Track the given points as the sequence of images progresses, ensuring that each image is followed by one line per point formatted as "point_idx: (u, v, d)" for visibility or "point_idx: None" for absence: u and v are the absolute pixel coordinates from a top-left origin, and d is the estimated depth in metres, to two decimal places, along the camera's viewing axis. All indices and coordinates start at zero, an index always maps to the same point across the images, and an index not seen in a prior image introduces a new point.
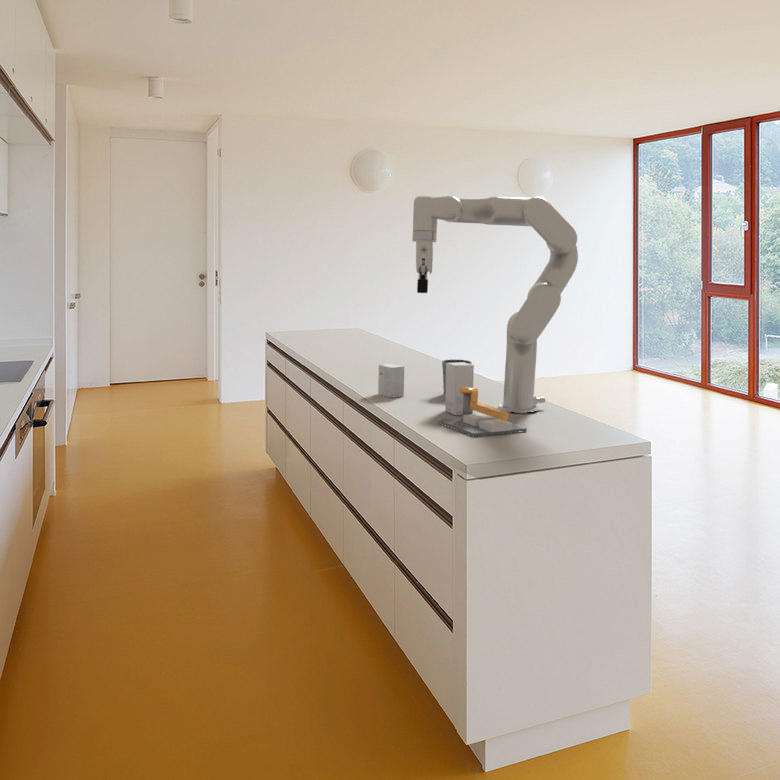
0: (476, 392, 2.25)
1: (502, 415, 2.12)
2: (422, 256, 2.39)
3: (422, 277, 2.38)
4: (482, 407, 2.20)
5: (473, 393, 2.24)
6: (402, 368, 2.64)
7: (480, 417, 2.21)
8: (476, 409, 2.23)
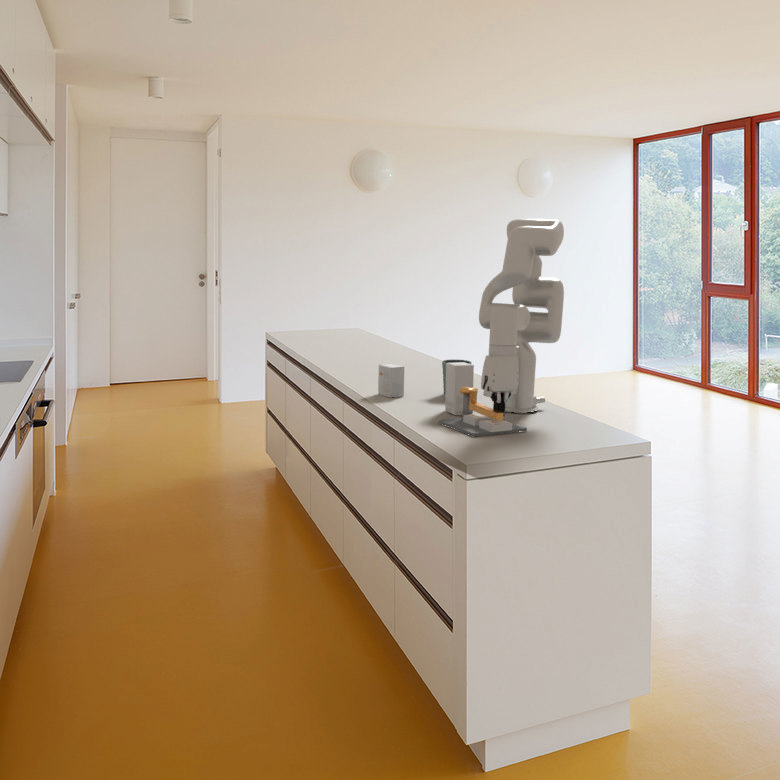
0: (475, 392, 2.24)
1: (496, 416, 2.11)
2: None
3: None
4: (479, 407, 2.20)
5: (472, 393, 2.24)
6: (402, 368, 2.64)
7: (480, 417, 2.21)
8: (474, 409, 2.22)
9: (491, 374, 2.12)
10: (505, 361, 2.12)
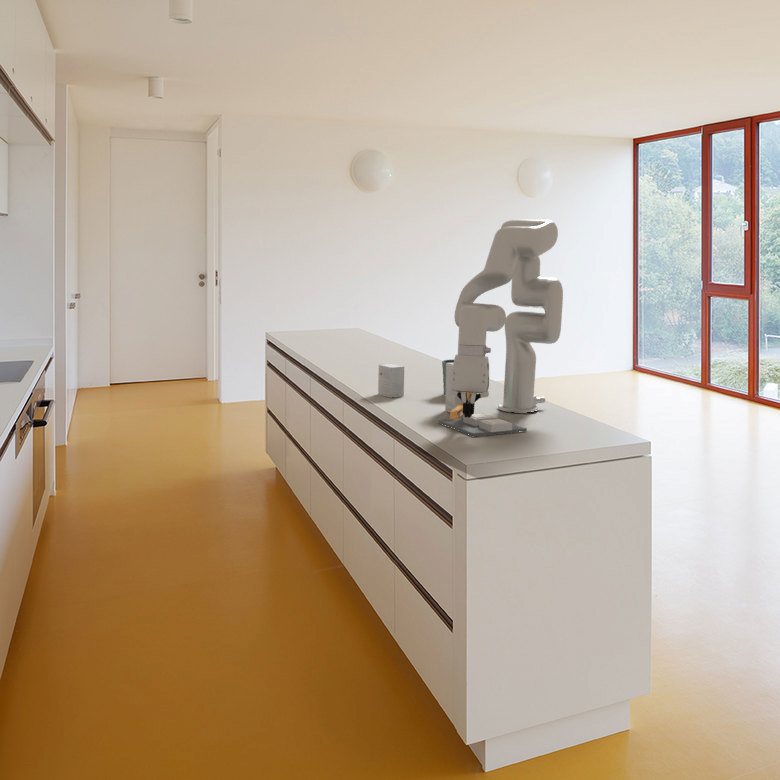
0: (467, 392, 2.24)
1: (450, 414, 2.11)
2: (488, 374, 2.11)
3: (476, 400, 2.14)
4: None
5: None
6: (402, 368, 2.64)
7: (480, 417, 2.21)
8: None
9: (452, 372, 2.13)
10: (466, 361, 2.10)
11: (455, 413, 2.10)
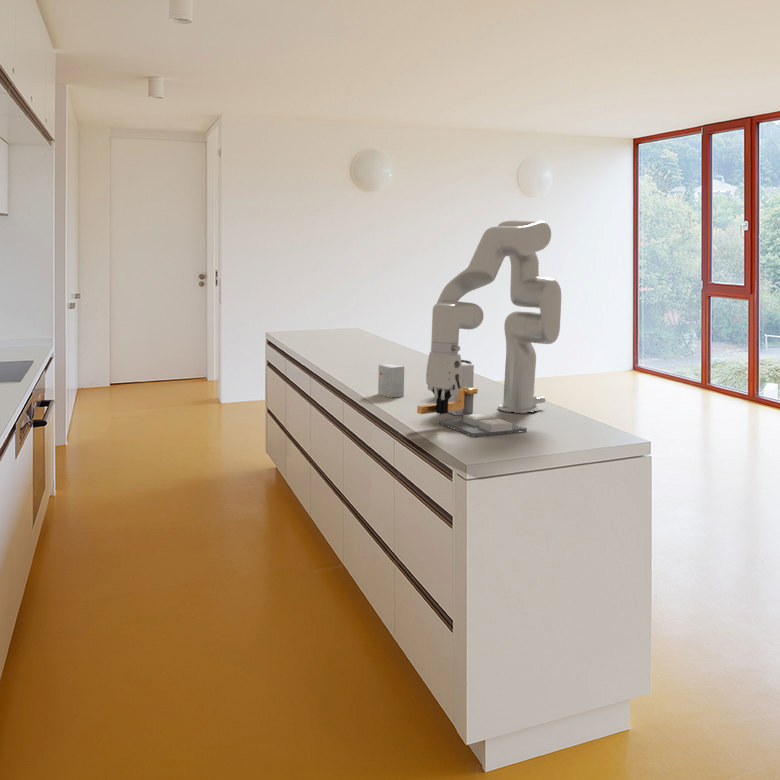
0: (460, 391, 2.25)
1: None
2: (456, 372, 2.12)
3: (448, 397, 2.16)
4: None
5: (458, 391, 2.26)
6: (402, 368, 2.64)
7: (480, 417, 2.21)
8: None
9: (427, 368, 2.18)
10: (436, 357, 2.14)
11: (420, 408, 2.16)
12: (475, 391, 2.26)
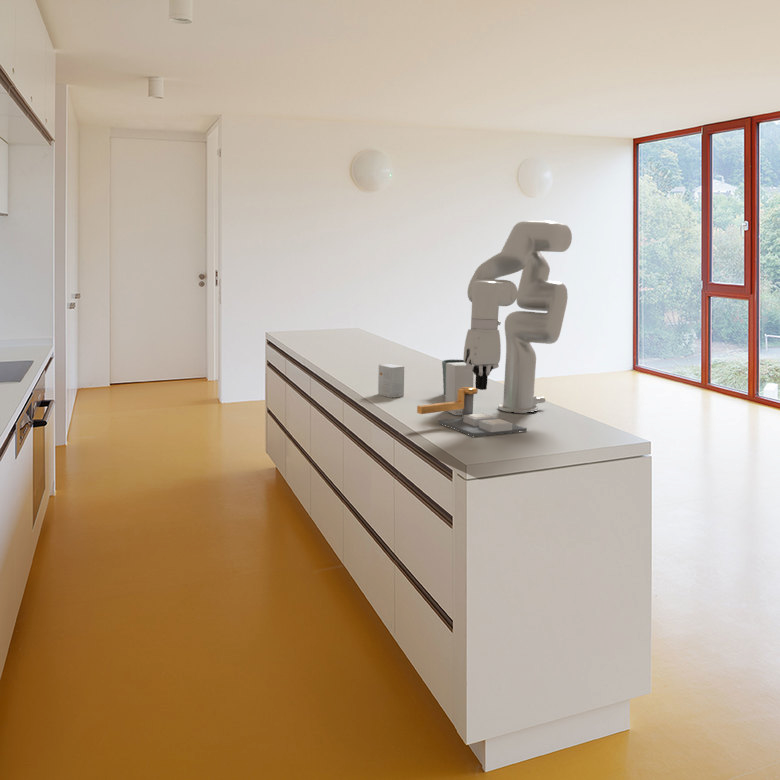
0: (460, 391, 2.25)
1: None
2: None
3: None
4: None
5: (458, 391, 2.26)
6: (402, 368, 2.64)
7: (480, 417, 2.21)
8: None
9: (473, 347, 2.16)
10: (486, 334, 2.17)
11: (420, 407, 2.16)
12: (475, 391, 2.26)
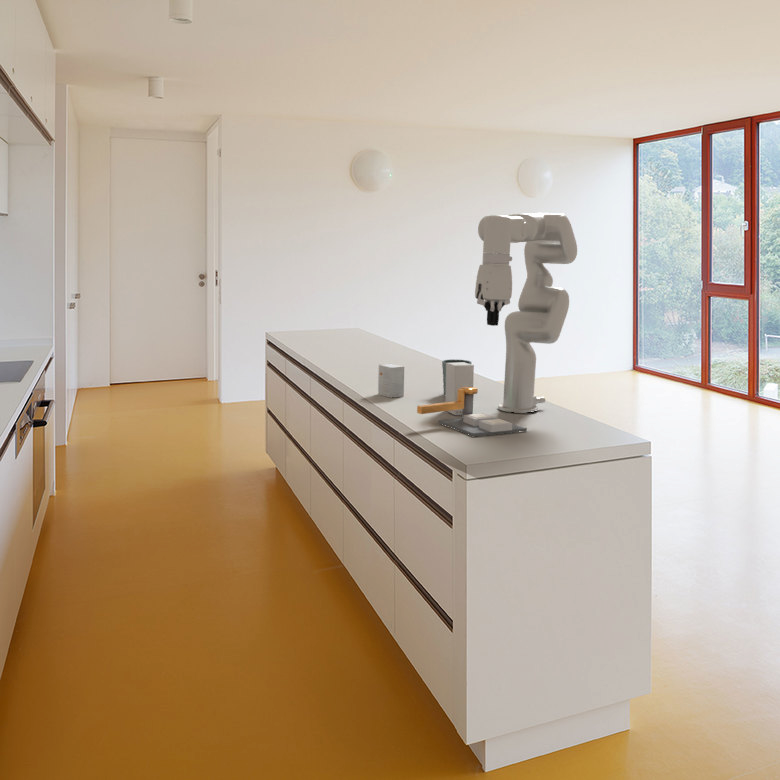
0: (460, 391, 2.25)
1: None
2: None
3: None
4: None
5: (458, 391, 2.26)
6: (402, 368, 2.64)
7: (480, 417, 2.21)
8: None
9: (484, 282, 2.16)
10: (498, 269, 2.17)
11: (420, 407, 2.16)
12: (475, 391, 2.26)
